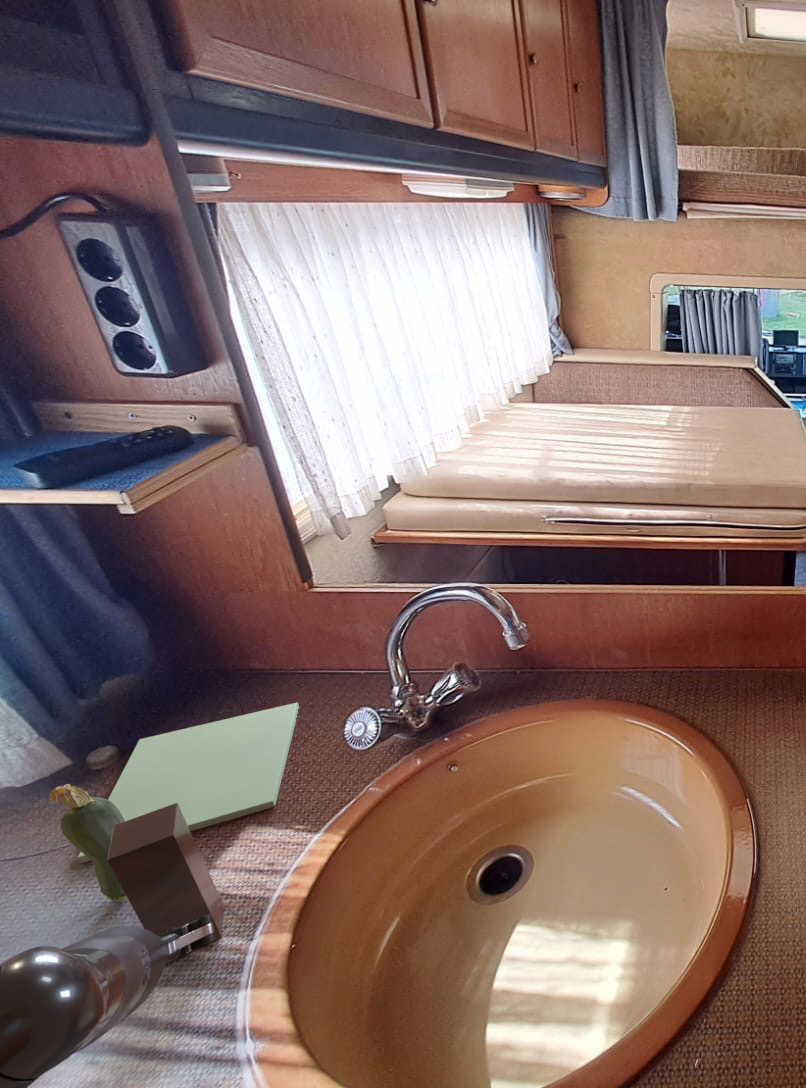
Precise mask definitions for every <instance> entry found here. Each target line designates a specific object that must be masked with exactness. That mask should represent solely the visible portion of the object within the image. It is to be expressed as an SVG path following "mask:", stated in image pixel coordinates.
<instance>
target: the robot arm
mask: <svg viewBox="0 0 806 1088" xmlns="http://www.w3.org/2000/svg"><path fill="white" fill-rule="evenodd" d="M213 941H214V942H216V941H215V934H214V928H213V922H212V917H211V914H209V915H207V916H206V915H203V916H201V917H199V919H197V920H195V921H192V922H190V923H188V924H185V925H183V926H180V927H178V928H176V929H175V927H174V928H172V929H170V930H168V932H167V933H165V934H163V937H162V938H161V937H160V936H157V935H155V934H154V933H152V932H151V931H149V930H146V929H144V927H139V926H133V925H132V926H128V925H127V926H117V927H113V928H109V929H105V930H103V931H100V932H97V933H94V934H93V935H90V936H89V937H88V936H87V937H85V938H83V939H81V940H79V941H76V942H74V943H72V944H69V945H67V946H65V947H63V948H59V947H56V946H51V945H50V946H49V945H41V946H35V947H32V948H28V949H26V950H23V951H21V952H19V953H18V954H15V955H14V956H11V957H9V958H8V959H6V960H4V961H3V962H1V963H0V1088H28V1087H30V1086H31V1085H32V1084H33V1083H34V1082H36V1081H37V1080H38V1079H39V1078H40V1077H41V1076H43V1075H44V1074H46V1073H47V1072H49V1071H51V1070H53V1069H54V1068H55V1067H57V1066H59V1065H60V1064H62V1063H63V1062H64V1061H66V1060H67V1059H69V1058H70V1057H71V1056H73V1055H74V1054H77V1053H78V1052H80V1051H82V1050H84V1049H85V1048H87V1047H89V1046H90V1045H91V1044H92V1045H93V1043H95V1042H96V1041H98V1040H99V1039H100V1038H102V1037H103V1036H105V1035H106V1034H107V1033H108V1032H110V1031H111V1030H112V1029H114V1028H115V1027H116V1026H117V1025H119V1024H120V1023H121V1022H122V1021H124V1020H126V1019H127V1018H128V1017H129V1016H131V1015H132V1014H133V1013H134V1012H135V1011H136V1010H138V1009H139V1008H140V1006H142V1004H144V1002H145V1001H146V1000H147V999H148V997H150V995H151V994H152V992H153V991H154V990H155V988H156V986H157V984H158V983H159V981H160V979H161V976H162V974H163V972H164V970H165V967H166V965H167V964H166V963H168V962H170V961H172V960H174V959H175V958H177V957H179V956H180V955H182V954H185V953H189V952H191V951H193V950H195V949H198V948H200V947H202V946H203V947H202V948H206V947H208V946H210V945H212V943H214V942H213ZM211 942H212V943H211ZM200 949H201V948H200ZM198 950H199V949H198ZM195 951H196V950H195ZM193 952H194V951H193ZM191 953H192V952H191ZM189 954H190V953H189ZM174 961H175V960H174ZM172 962H173V961H172ZM170 963H171V962H170ZM165 964H166V965H165ZM168 964H169V963H168Z"/></svg>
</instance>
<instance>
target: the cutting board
mask: <svg viewBox="0 0 806 1088" xmlns="http://www.w3.org/2000/svg"><path fill="white" fill-rule="evenodd" d="M298 709H299V710H300V705H299V702H298V701H297V702H294V703H289V704H285V705H280V706H276V707H271V708H268V709H263V710H259V711H255V712H254V711H253V712H251V713H246V714H241V715H238V716H233V717H229V718H226V719H221V720H216V721H212V722H208V723H204V724H199V725H194V726H190V727H187V728H182V729H178V730H174V731H170V732H164V733H159V734H157V735H153V736H148V737H144V738H139V739H138V741H137V743H136V746H135V747H134V749H133V751H132V753H131V755H130V756H129V759H128V760H127V762H126V765H125V766H124V768H123V770H122V772H121V773H120V776H119V778H118V779H117V782H116V783H115V786H114V787H113V789H112V791H111V793H110V795H109V796H108V798H107V800H109V801H111V802H112V803H113V804H114V805H115V806H116V807H117V808H118V809H119V811H120V813H121V814H122V816H123V818H124V820H125V821H128V820H131V819H133V818H136V817H139V816H142V815H144V814H147V813H150V812H153V811H155V810H158V809H161V808H164V807H167V806H169V805H172V804H175V803H178V805H179V808H180V810H181V812H182V814H183V816H184V819H185V821H186V823H187V825H188V828H189V830H190V832H194V831H197V830H200V829H203V828H207V827H210V826H213V825H217V824H221V823H225V822H227V821H231V820H234V819H237V818H242V817H245V816H247V815H251V814H255V813H258V812H261V811H264V810H269V809H272V808H275V807H276V804H277V801H278V796H279V793H280V788H281V783H282V781H283V780H282V779H283V776H284V772H285V767H286V765H287V759H288V755H289V751H290V748H291V743H292V740H293V739H292V738H293V735H294V731H295V728H296V723H297V719H298V715H297V714H299V711H298ZM296 718H297V719H296ZM77 860H78V861H79V863H80V864H85V863H88V862H92V861H91V859H90V858H89V857H88V856H86V855H85V854H83V853H82V852H81V851H79V854H78V856H77Z"/></svg>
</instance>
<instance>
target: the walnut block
mask: <svg viewBox="0 0 806 1088" xmlns="http://www.w3.org/2000/svg"><path fill="white" fill-rule="evenodd" d="M107 861H108V863H109V865H110V867H111V869H112V870H113V872H114V874H115V876H116V878H117V880H118V881H119V883H120V885H121V887H122V889H123V891H124V892H125V894H126V896H127V897H126V898H127V900H128V902H129V904H130V905H131V908H132V909H133V911H134V912H135V915H136V917H137V918H138V920H139V922H140V924H141V926H142V928H144V929H146V930H149V931H151V932H152V933H154V934H155V935H157V936H160V937H161V938H162V937H163V934H165V933H167V932H168V930H170V929H172V928H174V927H175V929H176V928H178V927H180V926H183V925H185V924H188V923H190V922H192V921H195V920H197V919H199V917H201V916H203V915H206V916H207V915H209V914H211V917H212V922H213V928H214V934H215V941H213V942H211V944H212V943H214V942H216V941H219V940H221V939H222V938H223V922H224V921H223V920H224V903H223V900H222V897H221V896H220V893H219V891H218V889H217V886H216V885H215V883H214V880H213V878H212V877H211V874H210V872H209V870H208V867H207V865H206V863H205V861H204V859H203V855H202V853H201V851H200V850H199V847H198V845H197V843H196V841H195V839H194V836H193V834H192V831H190V830H189V828H188V825H187V823H186V821H185V819H184V816H183V814H182V812H181V810H180V808H179V805H178V803H175V804H172V805H169V806H167V807H164V808H161V809H158V810H155V811H153V812H150V813H147V814H144V815H142V816H139V817H136V818H133V819H131V820H128V821H125V822H122V823H120V824H117V825H114V829H113V834H112V839H111V844H110V849H109V853H108V858H107ZM201 948H204V947H203V946H202V947H200V948H198V949H195V950H193V951H191V952H189V953H185V954H182V955H180V956H179V957H177V958H175V959H174V960H172V961H170V962H168V963H166V964H165V966H166V965H168V964H170V963H172V962H175V961H176V960H178V959H181V958H183V957H185V956H187V955H189V954H192V953H193V952H196V951H198V950H200V949H201Z"/></svg>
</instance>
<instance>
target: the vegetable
mask: <svg viewBox="0 0 806 1088" xmlns="http://www.w3.org/2000/svg"><path fill="white" fill-rule="evenodd" d="M48 800H49V801H51V802H54V803H55V804H56V803H57V802H58V801H59V802H60V803H61V805H62V806H63V807H66V808H69V809H68V810H66V811H65V813H64V814H63V815H62V818H61V819H60V829H61V833H62V835H63V836H64V837H65V838H66V839H67V841H68V842H69V843H71V845H72V846H73V847H74V848H76V850H77V851H79V852H82V853H83V854H85V855H86V856H88V857H89V858H90V859H91V861H90V862H92V864H93V867H94V872H95V875H96V879H97V881H98V885H99V889H100V892H101V894H102V895H104V896H105V897H106V898H107V899H108V900H110V901H111V902H115V901H118V902H123V901H124V900H125V899H126V898H127V896H126V894H125V892H124V891H123V889H122V887H121V885H120V883H119V881H118V880H117V878H116V876H115V874H114V872H113V870H112V869H111V867H110V865H109V863H108V861H107V858H108V853H109V849H110V844H111V839H112V834H113V829H114V825H117V824H120V823H122V822H125V820H124V818H123V816H122V814H121V813H120V811H119V809H118V808H117V807H116V806H115V805H114V804H113V803H112V802H111V801H109V800H108V799H106V798H103V797H99V796H97V797H93V796H92V797H91V796H90V795H89V793H88V791H85V790H84V789H82V788H81V787H77V785H71V784H70V783H67V784H64V785H59V786H56V787H54V789H53V790H52V791H50V792H49V795H48Z"/></svg>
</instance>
